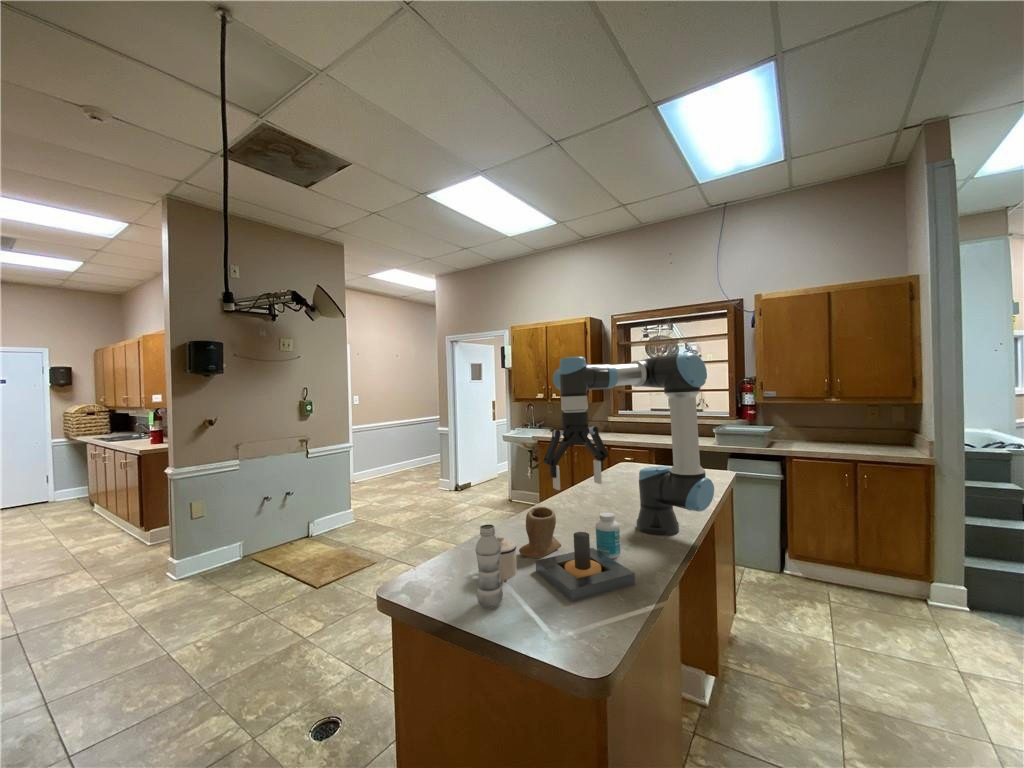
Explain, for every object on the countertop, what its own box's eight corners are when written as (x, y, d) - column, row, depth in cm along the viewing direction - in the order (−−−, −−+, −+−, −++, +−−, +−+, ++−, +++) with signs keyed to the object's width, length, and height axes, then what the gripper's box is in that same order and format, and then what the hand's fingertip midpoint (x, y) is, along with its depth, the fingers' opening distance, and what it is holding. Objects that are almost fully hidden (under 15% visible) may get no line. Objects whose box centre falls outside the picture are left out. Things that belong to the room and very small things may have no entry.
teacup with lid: (523, 573, 122) (522, 534, 122) (504, 586, 115) (502, 544, 115) (492, 564, 129) (491, 527, 129) (473, 576, 122) (471, 536, 122)
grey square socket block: (593, 560, 129) (592, 547, 129) (635, 587, 111) (634, 572, 111) (536, 574, 121) (535, 560, 121) (571, 606, 103) (570, 589, 103)
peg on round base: (588, 566, 123) (586, 526, 123) (609, 580, 113) (607, 536, 113) (558, 573, 119) (556, 532, 119) (577, 589, 109) (575, 543, 109)
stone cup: (541, 565, 127) (539, 517, 127) (514, 555, 136) (512, 510, 136) (571, 550, 138) (569, 505, 138) (544, 542, 146) (542, 500, 146)
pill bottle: (621, 562, 127) (619, 518, 127) (597, 561, 128) (595, 518, 129) (620, 552, 134) (618, 511, 134) (597, 551, 136) (595, 510, 136)
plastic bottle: (477, 599, 108) (473, 523, 108) (502, 597, 108) (499, 521, 109) (477, 613, 101) (473, 532, 102) (504, 610, 102) (500, 530, 102)
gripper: (603, 408, 125) (606, 478, 125) (529, 413, 116) (532, 488, 115) (618, 409, 118) (622, 482, 118) (541, 414, 109) (544, 494, 108)
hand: (577, 486), depth 117 cm, fingers open, 13 cm apart
